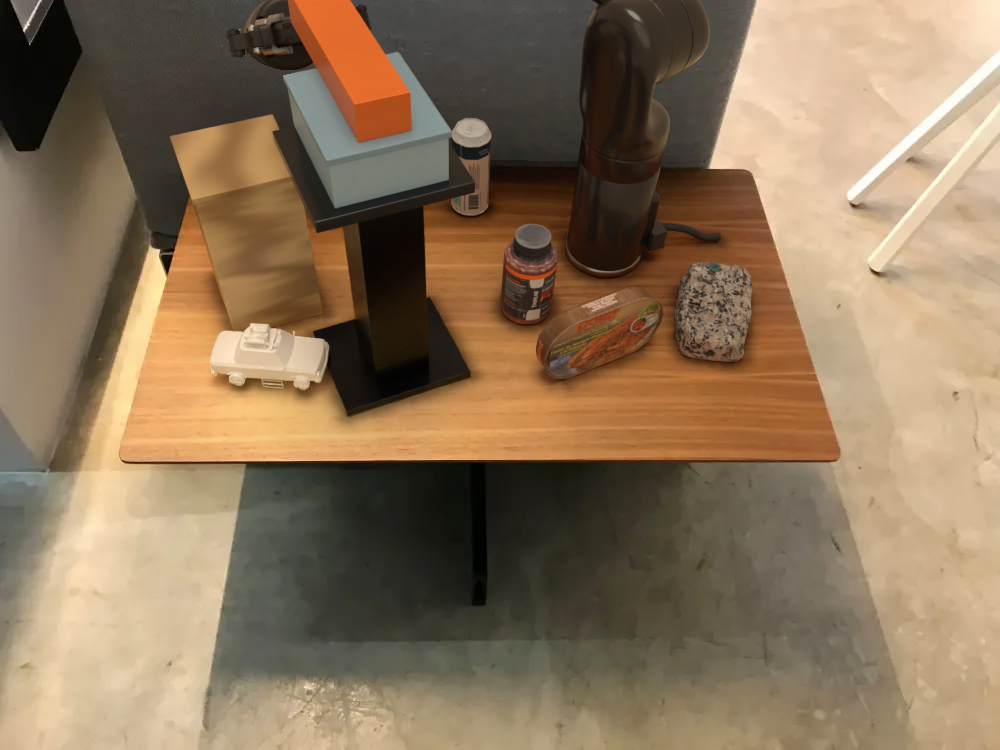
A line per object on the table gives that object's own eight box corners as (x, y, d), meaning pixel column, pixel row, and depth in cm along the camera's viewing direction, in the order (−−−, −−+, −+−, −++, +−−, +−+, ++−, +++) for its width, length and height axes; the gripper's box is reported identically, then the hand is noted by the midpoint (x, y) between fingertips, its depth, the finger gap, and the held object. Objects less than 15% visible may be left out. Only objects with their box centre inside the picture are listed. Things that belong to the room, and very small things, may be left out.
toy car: (323, 397, 91) (315, 356, 85) (211, 388, 91) (196, 347, 85) (333, 354, 94) (326, 312, 89) (225, 346, 94) (212, 303, 89)
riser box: (299, 255, 104) (272, 113, 88) (325, 314, 98) (301, 173, 82) (213, 278, 101) (169, 135, 85) (234, 340, 95) (191, 199, 79)
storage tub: (401, 100, 79) (398, 51, 75) (452, 181, 72) (452, 131, 68) (291, 125, 76) (282, 74, 72) (333, 211, 69) (326, 160, 65)
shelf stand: (427, 296, 100) (420, 98, 79) (470, 377, 93) (475, 181, 72) (311, 330, 96) (271, 130, 75) (347, 417, 89) (314, 222, 68)
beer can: (495, 203, 111) (499, 125, 102) (475, 223, 109) (477, 145, 99) (464, 189, 113) (466, 110, 103) (444, 208, 110) (443, 130, 101)
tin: (542, 389, 93) (549, 338, 86) (528, 368, 94) (534, 317, 88) (657, 344, 97) (672, 292, 91) (642, 325, 99) (655, 273, 92)
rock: (672, 280, 104) (680, 253, 100) (744, 289, 103) (754, 262, 100) (671, 359, 96) (680, 332, 93) (749, 369, 96) (760, 343, 92)
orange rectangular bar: (339, 13, 79) (334, -24, 76) (412, 130, 68) (410, 92, 65) (291, 22, 77) (285, -16, 75) (358, 143, 67) (354, 104, 64)
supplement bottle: (546, 331, 98) (555, 259, 89) (495, 322, 98) (499, 249, 89) (554, 294, 101) (564, 222, 93) (505, 285, 102) (510, 212, 93)
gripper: (209, 9, 92) (223, -1, 78) (337, -13, 96) (372, -27, 82) (230, 81, 95) (247, 84, 81) (353, 57, 99) (390, 55, 85)
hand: (310, 28), depth 81 cm, fingers open, 8 cm apart
